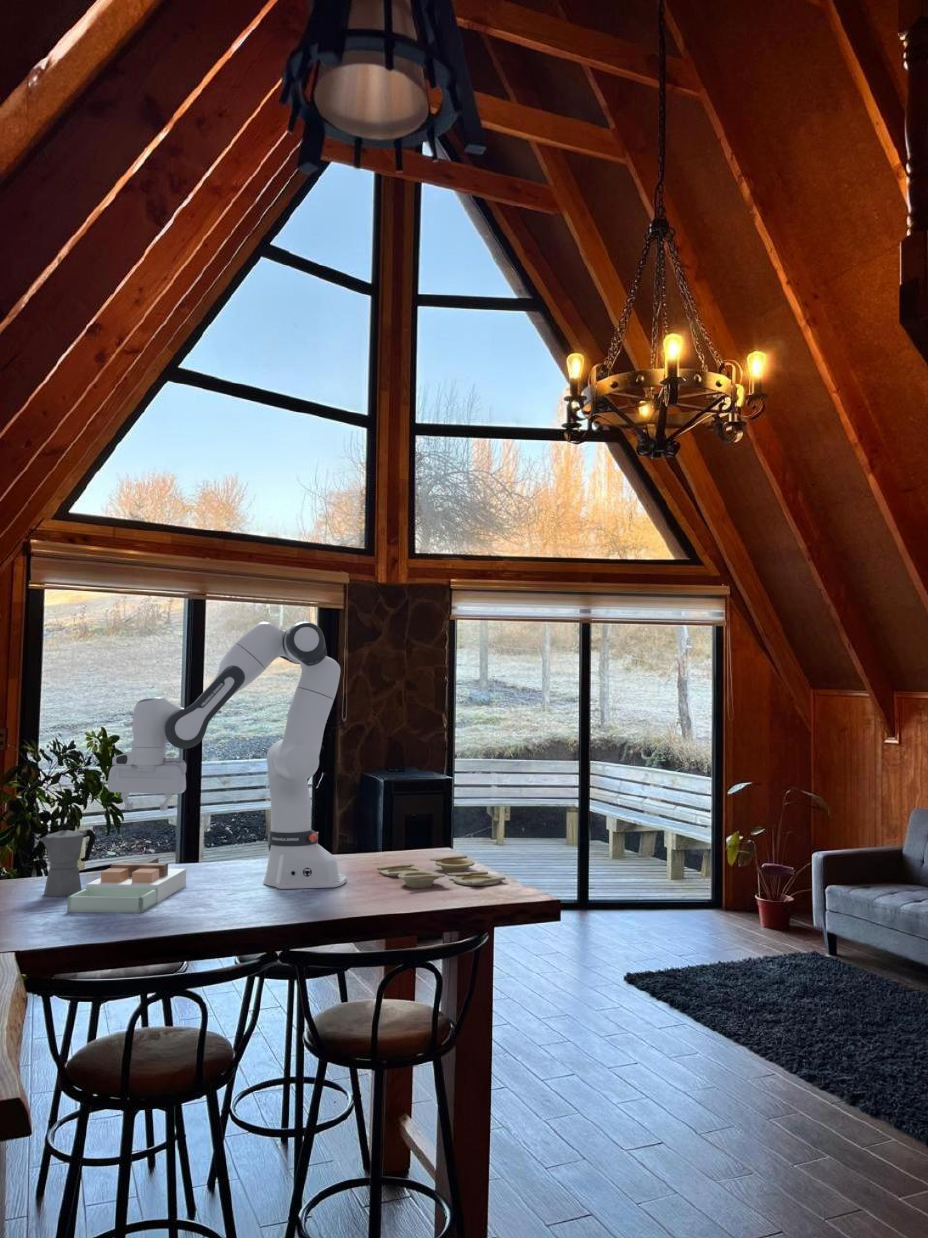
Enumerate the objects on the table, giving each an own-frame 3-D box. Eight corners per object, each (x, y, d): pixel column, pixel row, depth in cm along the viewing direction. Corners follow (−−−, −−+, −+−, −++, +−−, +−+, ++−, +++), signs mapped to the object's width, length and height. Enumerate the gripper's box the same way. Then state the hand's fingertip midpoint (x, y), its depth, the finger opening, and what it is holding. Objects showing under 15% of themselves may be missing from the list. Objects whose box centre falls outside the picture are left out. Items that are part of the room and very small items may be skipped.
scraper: (178, 869, 250) (178, 857, 251) (163, 877, 239) (163, 865, 240) (127, 868, 251) (127, 857, 251) (110, 876, 240) (110, 864, 240)
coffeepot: (48, 900, 233) (51, 827, 234) (28, 895, 238) (31, 824, 240) (104, 890, 245) (106, 821, 246) (83, 885, 251) (86, 818, 252)
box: (157, 903, 230) (157, 889, 230) (141, 913, 220) (142, 898, 220) (85, 902, 230) (86, 888, 231) (67, 912, 220) (67, 897, 221)
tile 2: (128, 878, 238) (128, 868, 238) (120, 882, 233) (120, 872, 233) (108, 878, 238) (109, 868, 238) (100, 882, 233) (100, 872, 233)
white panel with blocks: (185, 885, 250) (186, 869, 251) (157, 903, 230) (157, 885, 230) (120, 885, 251) (120, 868, 252) (85, 902, 230) (86, 884, 231)
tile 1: (158, 878, 237) (159, 868, 238) (151, 882, 233) (151, 872, 233) (139, 878, 238) (139, 868, 238) (131, 882, 233) (132, 872, 233)
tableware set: (511, 887, 252) (511, 872, 252) (409, 895, 241) (409, 879, 241) (464, 865, 284) (464, 851, 285) (372, 871, 273) (372, 857, 274)
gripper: (190, 757, 250) (188, 809, 249) (116, 756, 251) (113, 808, 250) (182, 759, 244) (180, 812, 243) (106, 757, 245) (103, 810, 244)
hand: (146, 810), depth 246 cm, fingers open, 8 cm apart
